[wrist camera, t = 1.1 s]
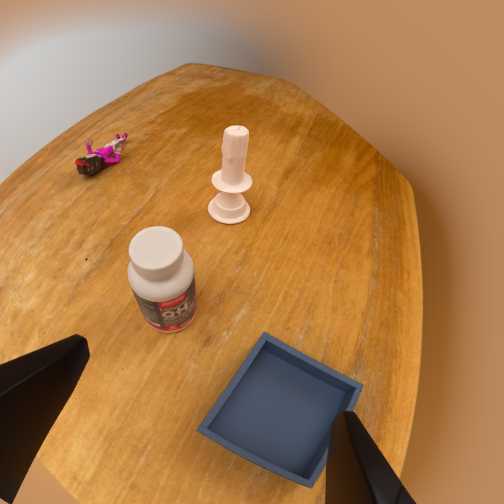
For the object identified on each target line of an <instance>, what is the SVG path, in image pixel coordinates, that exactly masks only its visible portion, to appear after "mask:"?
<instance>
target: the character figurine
mask: <svg viewBox="0 0 504 504" xmlns="http://www.w3.org/2000/svg"><path fill="white" fill-rule="evenodd" d="M115 136H116V140H114V141H112V142H110V143H108V144H107V145H106V146H105V147H104V148H101V149H97V150H96V151H95V152H94V153H92V150H91V147H90V146H92V144H93V141H92V139H91V140H89V141H87V142H86V146H87V150H88V153H89V154H88V155H87V156H85V157H83V158H78V159H76V162H75V164H76V165H77V169H78V171H79V174H84V175H91V174H93V173H96V172H98V171H99V170H101V169H102V168H103V167H102V165H104V164H105V163H116V162H119V159H120V155H121V154H122V150H123V149H122V148H121V147H118V146H120V145H122V143H124V142H125V141H126V138H127V134H126V133H125V134H124V135H123V137H122V138H121V139H120V137H119V134H117V135H115ZM117 147H118V148H117ZM116 148H117V149H116ZM115 149H116V153H115V154H116V157H115V159H114V158H108V157H109V156H110V155H111V154H113V153H114V152H115Z"/></svg>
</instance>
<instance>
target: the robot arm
mask: <svg viewBox="0 0 504 504" xmlns="http://www.w3.org/2000/svg"><path fill="white" fill-rule="evenodd" d="M89 357H90V352H89V347H88V342H87V339H86V338H85V337H83V336H81V335H78V334H75V335H72V336H70V337H68V338H65V339H63V340H60V341H58V342H55V343H53V344H50V345H48V346H46V347H43V348H41V349H38V350H36V351H33V352H31V353H28V354H26V355H23V356H21V357H18V358H16V359H13V360H11V361H8V362H6V363H3V364H1V365H0V498H1V499H3V500H4V501H5V502H7V503H9V504H12V503H13V501H14V499H15V497H16V495H17V492H18V490H19V488H20V486H21V484H22V482H23V480H24V478H25V476H26V474H27V472H28V470H29V468H30V466H31V464H32V462H33V460H34V458H35V456H36V455H37V453H38V451H39V449H40V447H41V445H42V444H43V442H44V440H45V438H46V436H47V435H48V433H49V431H50V429H51V428H52V426H53V424H54V423H55V421H56V419H57V417H58V416H59V414H60V412H61V411H62V409H63V407H64V406H65V404H66V403H67V401H68V399H69V398H70V396H71V394H72V393H73V391H74V389H75V387H76V385H77V383H78V381H79V379H80V377H81V374H82V372H83V370H84V368H85V366H86V364H87V362H88V360H89ZM325 504H416V503H415V501H414V500H413V499H412V498H411V496H410V494H409V493H408V492H407V490H406V489H405V487H404V486H403V485H402V483H401V481H400V480H399V478H398V477H397V475H396V474H395V472H394V471H393V469H392V468H391V466H390V465H389V463H388V462H387V460H386V459H385V457H384V456H383V454H382V453H381V451H380V450H379V448H378V447H377V445H376V444H375V442H374V441H373V439H372V438H371V436H370V435H369V433H368V432H367V430H366V429H365V427H364V426H363V424H362V423H361V421H360V420H359V418H358V417H357V415H356V414H355V412H353V411H348V410H343V411H341V412H340V413H339V415H338V416H337V417H336V419H335V420H334V421H333V423H332V425H331V429H330V438H329V447H328V455H327V463H326V493H325Z"/></svg>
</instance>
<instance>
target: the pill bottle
mask: <svg viewBox="0 0 504 504" xmlns="http://www.w3.org/2000/svg"><path fill="white" fill-rule="evenodd" d="M129 257H130V263H129V265H128V280H129V283H130V286H131V289H132V291H133V293H134V295H135V297H136V300H137V302H138V304H139V307H140V309H141V312H142V314H143V316H144V318H145V320H146V321H147V323H148V324H149V325H150V326H151V327H152V328H154V329H155V330H157V331H160V332H163V333H174V332H178V331H181V330H183V329H185V328H186V327H187V326H188V325H189V324H190V323H191V322H192V320H193V319H194V317H195V314H196V293H195V279H194V266H193V262H192V259H191V257H190V255H189V254H188V253H187V251H186V250H185V249H183V242H182V239H181V237H180V236H179V235H178V234H177V233H176V232H175V231H174V230H172V229H170V228H167V227H162V226H154V227H149V228H146V229H144V230H142V231H140V232H139V233H138V234H136V235H135V236H134V238H133V239H132V241H131V242H130V245H129Z"/></svg>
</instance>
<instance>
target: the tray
mask: <svg viewBox="0 0 504 504" xmlns="http://www.w3.org/2000/svg"><path fill="white" fill-rule="evenodd" d="M362 388H363V384H361V383H359V382H357V381H355V380H353V379H351V378H349V377H347V376H345V375H343V374H341V373H339V372H337V371H335V370H333V369H331V368H329V367H328V366H326V365H324V364H322V363H320V362H318V361H316V360H314V359H312V358H311V357H309V356H307V355H305V354H303V353H301V352H300V351H298V350H296V349H294V348H292V347H291V346H289V345H287V344H285V343H283V342H282V341H280V340H278V339H276V338H275V337H273V336H271V335H269V334H268V333H266V332H263V333H262V335H261V337H260V338H259V340H258V341H257V343H256V344H255V346H254V347H253V349H252V350H251V352H250V353H249V355H248V356H247V358H246V359H245V361H244V362H243V364H242V365H241V367H240V368H239V370H238V371H237V373H236V374H235V376H234V377H233V379H232V380H231V381H230V383H229V384H228V386H227V387H226V389H225V390H224V392H223V393H222V394H221V396H220V397H219V399H218V400H217V402H216V403H215V404H214V406H213V407H212V409H211V410H210V411H209V413H208V414H207V416H206V417H205V418H204V420H203V421H202V423H201V424H200V425H199V427H198V428H197V429H196V430H197V431H199V432H200V433H202V434H203V435H205V436H207V437H208V438H210V439H211V440H213V441H215V442H216V443H218V444H220V445H222V446H223V447H225V448H227V449H229V450H230V451H232V452H234V453H236V454H238V455H239V456H241V457H243V458H245V459H247V460H249V461H251V462H253V463H255V464H257V465H259V466H261V467H263V468H265V469H267V470H269V471H271V472H273V473H275V474H278V475H280V476H282V477H284V478H287V479H289V480H291V481H294V482H296V483H299V484H301V485H304V486H306V487H309V488H312V487H313V485H314V484H315V482H316V480H317V479H318V477H319V475H320V473H321V472H322V470H323V468H324V467H325V465H326V463H327V455H328V447H329V438H330V429H331V425H332V423H333V421H334V420H335V419H336V417H337V416H338V415H339V413H340V412H341V411H343V410H348V411H353V409H354V407H355V404H356V402H357V400H358V397H359V395H360V393H361V390H362Z"/></svg>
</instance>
